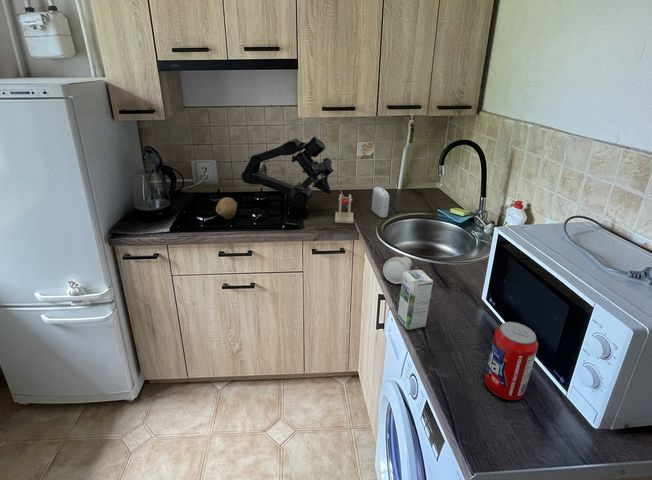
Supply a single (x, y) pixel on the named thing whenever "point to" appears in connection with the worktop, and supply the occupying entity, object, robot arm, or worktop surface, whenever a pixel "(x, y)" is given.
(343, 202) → the switch lever
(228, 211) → the natural sponge
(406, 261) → the spotlight
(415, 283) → the syrup box
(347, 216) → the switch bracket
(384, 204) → the photo printer
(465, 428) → the worktop surface
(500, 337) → the soda can
